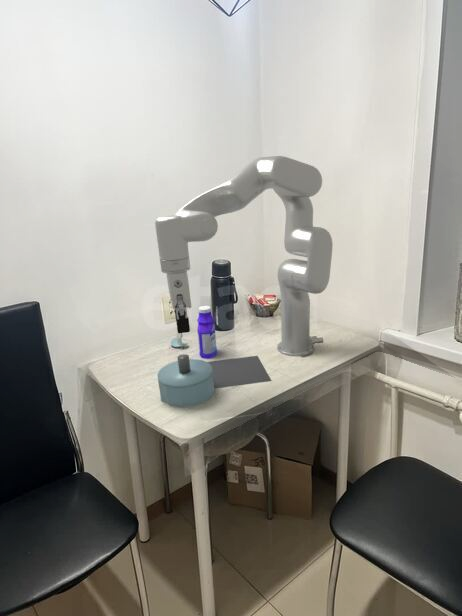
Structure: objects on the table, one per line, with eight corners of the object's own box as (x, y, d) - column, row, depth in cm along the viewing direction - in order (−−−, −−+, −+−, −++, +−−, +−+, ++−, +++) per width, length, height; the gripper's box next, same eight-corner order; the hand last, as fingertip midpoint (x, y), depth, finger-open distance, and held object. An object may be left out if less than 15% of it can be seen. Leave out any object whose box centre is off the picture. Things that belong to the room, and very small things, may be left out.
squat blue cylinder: (210, 376, 127) (207, 342, 123) (217, 402, 112) (214, 364, 108) (160, 383, 124) (155, 349, 121) (161, 411, 110) (155, 373, 106)
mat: (257, 356, 139) (257, 355, 139) (271, 381, 122) (271, 380, 122) (204, 363, 136) (204, 362, 136) (211, 390, 119) (211, 388, 119)
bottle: (213, 360, 138) (210, 311, 133) (197, 359, 139) (193, 310, 134) (218, 351, 145) (215, 304, 139) (203, 350, 146) (199, 303, 140)
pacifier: (176, 353, 145) (190, 348, 149) (174, 337, 143) (188, 332, 147) (165, 347, 151) (179, 342, 154) (163, 332, 149) (177, 327, 152)
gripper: (192, 270, 99) (199, 335, 104) (187, 256, 115) (193, 313, 121) (161, 274, 98) (170, 340, 103) (160, 259, 114) (167, 316, 120)
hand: (182, 325), depth 112 cm, fingers open, 9 cm apart
